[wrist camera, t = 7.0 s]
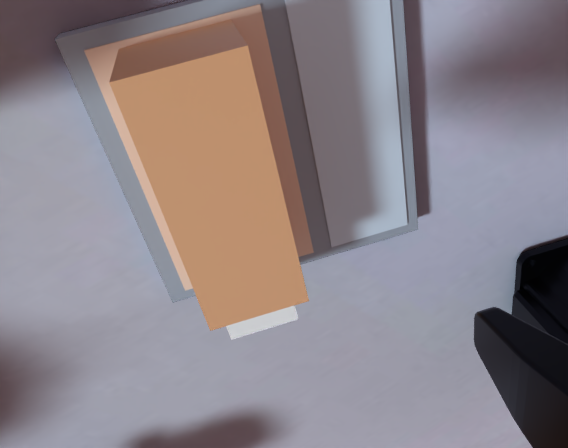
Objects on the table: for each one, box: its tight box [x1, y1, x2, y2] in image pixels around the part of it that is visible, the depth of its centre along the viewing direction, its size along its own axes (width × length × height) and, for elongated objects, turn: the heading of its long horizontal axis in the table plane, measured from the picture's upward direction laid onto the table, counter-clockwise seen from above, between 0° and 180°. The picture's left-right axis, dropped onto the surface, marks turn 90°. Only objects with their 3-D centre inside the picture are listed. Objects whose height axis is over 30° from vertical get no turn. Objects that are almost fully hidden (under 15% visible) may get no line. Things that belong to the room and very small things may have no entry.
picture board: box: [55, 0, 418, 302], centre depth 19 cm, size 11×11×1 cm
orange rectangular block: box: [109, 20, 309, 340], centre depth 17 cm, size 4×10×4 cm, turn 11°
